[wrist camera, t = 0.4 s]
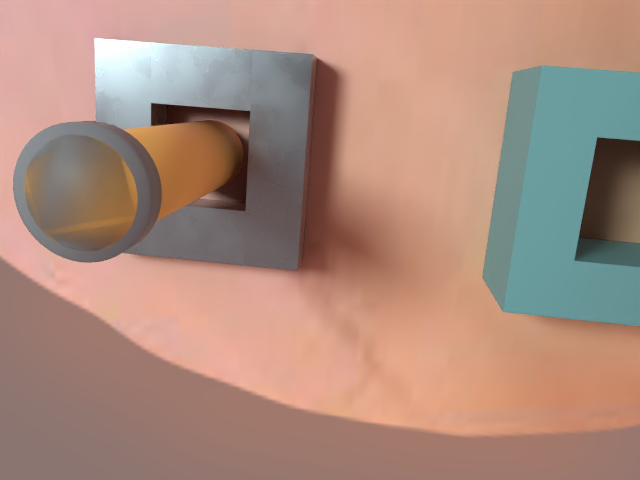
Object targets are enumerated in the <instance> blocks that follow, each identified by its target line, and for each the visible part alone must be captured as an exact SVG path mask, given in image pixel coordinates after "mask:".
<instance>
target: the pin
mask: <svg viewBox="0 0 640 480" xmlns="http://www.w3.org/2000/svg"><path fill="white" fill-rule="evenodd" d="M243 160H244V151H243V146H242V143H241V140H240V139H239V137H238V135H237V134H236V133H235V131H234V130H233V129H231V128H230V127H229V126H227V125H226V124H224V123H221V122H218V121H213V120H206V121H197V122H187V123H178V124H168V125H158V126H149V127H139V128H130V129H121V128H119V127H117V126H114V125H111V124H108V123H104V122H98V121H81V122H68V123H61V124H57V125H53V126H51V127H49V128H46V129H44V130H43V131H41V132H40V133H38V134H37V135H36V136H34V137H33V138H32V139H31V140H30V141H29V142H28V143H27V145H26V146H25V147H24V149H23V151H22V152H21V154H20V156H19V158H18V161H17V163H16V167H15V171H14V178H13V191H14V198H15V203H16V206H17V209H18V212H19V215H20V217H21V219H22V221H23V223H24V224H25V226H26V227H27V229H28V230H29V232H30V233H31V234H32V235H33V236H34V238H35V239H36V240H37V241H38V242H39V243H40V244H42V245H43V246H44V247H46V248H47V249H48V250H50V251H51V252H53V253H55V254H56V255H59V256H61V257H63V258H66V259H69V260H73V261H78V262H90V263H91V262H100V261H104V260H108V259H111V258H113V257H115V256H117V255H119V254H121V253H123V252H124V251H126V250H128V249H129V248H131V247H133V246H134V245H136V244H138V243H139V242H140V241H141V240H143V239H144V238H145V237H146V236H147V234H148V233H149V232H150V231H151V229H152V228H153V226H154V224H155V222H156V221H158V220H160V219H162V218H164V217H166V216H167V215H169V214H171V213H173V212H175V211H177V210H179V209H181V208H182V207H184V206H186V205H188V204H190V203H192V202H194V201H195V200H197V199H199V198H201V197H203V196H205V195H207V194H209V193H210V192H212V191H214V190H216V189H218V188H220V187H222V186H224V185H225V184H227V183H229V182H231V181H232V180H233V179H234V178H235V177H236V176H237V175H238V173H239V172H240V170H241V168H242V165H243Z"/></svg>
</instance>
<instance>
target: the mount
mask: <svg viewBox="0 0 640 480" xmlns="http://www.w3.org/2000/svg"><path fill="white" fill-rule="evenodd" d="M316 69H317V57H316V56H314V55H313V54H302V53H288V52H274V51H261V50H247V49H233V48H220V47H206V46H192V45H179V44H165V43H152V42H138V41H124V40H111V39H97V38H95V95H96V121H98V122H104V123H108V124H111V125H114V126H117V127H119V128H121V129H130V128H139V127H149V126H158V125H167V104H170V105H182V106H195V107H207V108H219V109H231V110H244V111H250V128H249V149H248V170H247V191H246V203H239V202H228V201H218V200H207V199H197V200H195V201H194V202H192V203H190V204H188V205H186V206H184V207H182V208H181V209H179V210H177V211H175V212H173V213H171V214H169V215H167V216H166V217H164V218H162V219H160V220H158V221H156V222H155V224H154V226H153V228H152V229H151V231H150V232H149V233H148V234H147V236H146V237H145V238H144V239H143V240H141V241H140V242H139V243H138V244H136V245H134V246H133V247H131V248H129V249H128V250H126V251H124V252H123V253H129V254H139V255H149V256H158V257H168V258H178V259H188V260H198V261H207V262H217V263H227V264H237V265H246V266H256V267H266V268H276V269H286V270H295V271H297V270H298V268H299V266H300V264H301V262H302V260H303V249H304V235H305V221H306V207H307V193H308V180H309V166H310V152H311V138H312V124H313V111H314V97H315V83H316Z"/></svg>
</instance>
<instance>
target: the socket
mask: <svg viewBox="0 0 640 480" xmlns="http://www.w3.org/2000/svg"><path fill="white" fill-rule="evenodd" d="M597 137H600V138H612V139H624V140H637V141H640V73H636V72H623V71H609V70H595V69H581V68H567V67H554V66H538V67H534V68H530V69H525V70H521V71H516V72H513V76H512V83H511V90H510V96H509V103H508V110H507V116H506V123H505V130H504V137H503V143H502V150H501V157H500V163H499V170H498V177H497V184H496V190H495V197H494V204H493V211H492V217H491V224H490V231H489V237H488V244H487V251H486V258H485V264H484V271H483V279H484V281H485V283H486V284H487V286H488V288H489V289H490V291H491V293H492V294H493V296H494V298H495V299H496V301H497V303H498V305H499V306H500V308H501V310H502V311H503V312H508V313H518V314H528V315H537V316H547V317H556V318H566V319H575V320H585V321H594V322H604V323H613V324H623V325H632V326H640V243H629V242H618V241H608V240H597V239H587V238H579V233H580V227H581V222H582V217H583V211H584V206H585V200H586V195H587V190H588V184H589V179H590V174H591V168H592V163H593V157H594V152H595V147H596V141H597Z"/></svg>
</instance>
